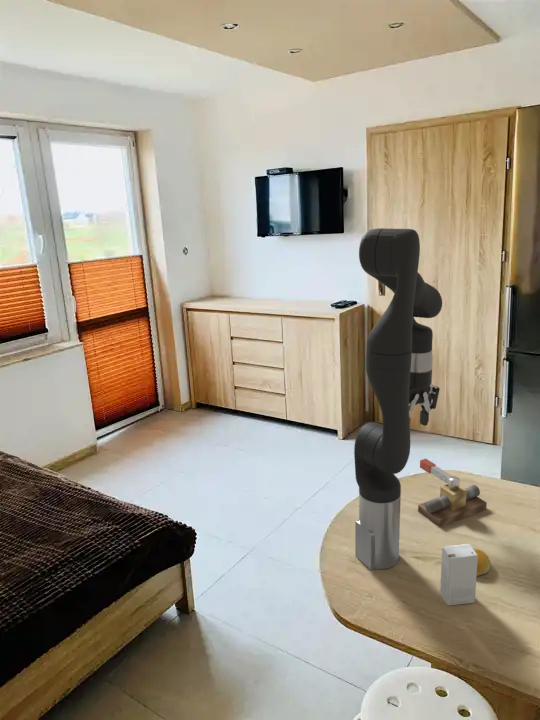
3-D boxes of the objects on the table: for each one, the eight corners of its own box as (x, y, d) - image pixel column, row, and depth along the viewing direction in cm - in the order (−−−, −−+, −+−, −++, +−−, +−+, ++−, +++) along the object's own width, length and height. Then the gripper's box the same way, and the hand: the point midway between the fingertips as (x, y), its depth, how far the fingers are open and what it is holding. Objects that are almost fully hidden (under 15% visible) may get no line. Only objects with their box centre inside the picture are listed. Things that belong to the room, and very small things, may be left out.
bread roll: (482, 582, 122) (483, 567, 121) (442, 567, 128) (443, 552, 127) (495, 562, 128) (496, 547, 127) (456, 548, 134) (457, 534, 133)
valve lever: (461, 487, 146) (462, 479, 145) (453, 490, 144) (453, 482, 144) (426, 465, 157) (426, 458, 156) (418, 468, 156) (418, 460, 155)
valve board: (439, 527, 142) (440, 502, 140) (418, 511, 149) (418, 488, 146) (486, 509, 148) (488, 485, 146) (464, 494, 155) (465, 472, 153)
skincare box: (466, 589, 120) (469, 541, 117) (475, 604, 116) (479, 555, 112) (438, 592, 120) (441, 544, 116) (446, 607, 116) (449, 558, 112)
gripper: (403, 375, 137) (401, 438, 142) (449, 365, 143) (445, 426, 148) (384, 367, 143) (383, 428, 149) (429, 357, 149) (426, 416, 154)
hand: (414, 426), depth 148 cm, fingers open, 5 cm apart
